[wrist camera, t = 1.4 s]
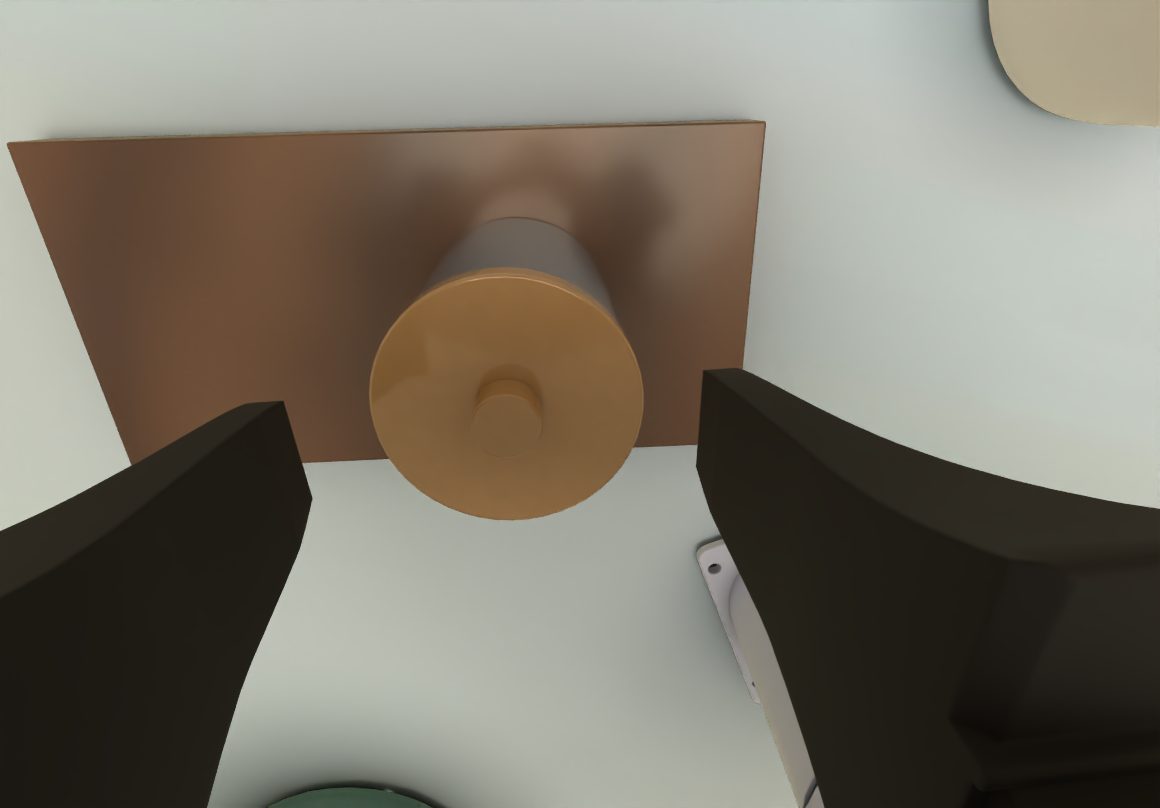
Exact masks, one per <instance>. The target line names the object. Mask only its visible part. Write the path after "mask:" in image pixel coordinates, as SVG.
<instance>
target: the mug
mask: <svg viewBox="0 0 1160 808" xmlns="http://www.w3.org/2000/svg"><path fill="white" fill-rule="evenodd" d="M988 5H989V21H990V27H991V32H992V38H993V42H994V45H995V48H996V51H997V54H998V57H999V60H1000V62H1001V63H1002V65H1003V67H1004V69H1005V71H1006V73H1007V75H1008V76H1009V78H1010V79H1011V80H1012V81H1013V83H1014V84H1015V85H1016V87H1017V88H1018V89H1019V90H1020V91H1021V92H1022V93H1023V94H1024V95H1025V96H1026V97H1027V98H1028V99H1029V100H1030V101H1032V102H1033V103H1035V104H1036V105H1038V106H1040V107H1041V108H1043V109H1044V110H1046V111H1049V112H1051V113H1054V114H1056V115H1059V116H1062V117H1065V118H1068V119H1073V120H1078V121H1083V122H1088V123H1095V124H1108V125H1128V126H1150V127H1160V0H988Z"/></svg>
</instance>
